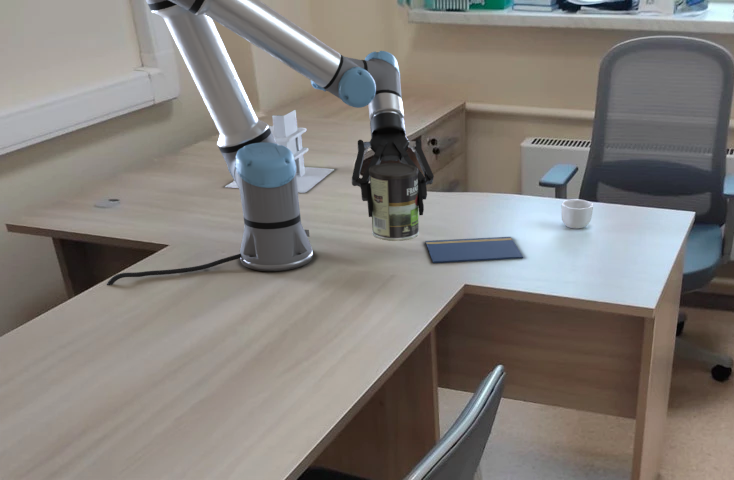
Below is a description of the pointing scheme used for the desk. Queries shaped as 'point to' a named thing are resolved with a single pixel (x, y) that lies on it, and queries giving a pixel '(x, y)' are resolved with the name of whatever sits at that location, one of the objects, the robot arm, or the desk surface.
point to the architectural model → (294, 151)
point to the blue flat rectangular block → (473, 249)
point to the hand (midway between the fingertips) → (396, 213)
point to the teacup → (576, 213)
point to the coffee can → (394, 201)
